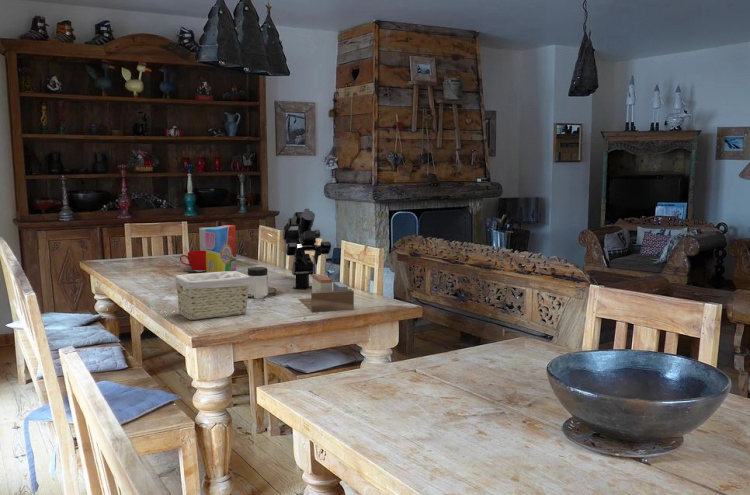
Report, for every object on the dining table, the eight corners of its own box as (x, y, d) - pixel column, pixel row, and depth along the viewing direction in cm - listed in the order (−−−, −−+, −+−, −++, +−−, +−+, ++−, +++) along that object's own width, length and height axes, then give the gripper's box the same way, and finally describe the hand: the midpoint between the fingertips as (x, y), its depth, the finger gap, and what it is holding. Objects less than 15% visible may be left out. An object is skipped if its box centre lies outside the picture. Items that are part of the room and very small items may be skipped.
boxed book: (312, 298, 270) (312, 274, 269) (323, 298, 271) (323, 273, 270) (320, 305, 257) (320, 280, 255) (332, 304, 258) (332, 279, 257)
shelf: (298, 301, 269) (297, 282, 268) (336, 299, 274) (336, 280, 273) (312, 314, 246) (312, 293, 245) (353, 311, 251) (353, 291, 250)
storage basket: (236, 306, 259) (235, 269, 258) (252, 314, 246) (251, 275, 244) (174, 314, 247) (173, 274, 245) (188, 322, 233) (186, 281, 231)
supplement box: (228, 258, 389) (227, 228, 387) (205, 259, 383) (205, 229, 380) (221, 255, 401) (220, 226, 398) (199, 257, 394) (198, 227, 392)
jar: (243, 297, 277) (242, 268, 275) (255, 294, 284) (255, 266, 282) (260, 299, 272) (259, 270, 271) (272, 296, 280) (272, 268, 278)
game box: (217, 291, 290) (216, 229, 286) (206, 290, 291) (204, 228, 287) (236, 282, 310) (235, 224, 306) (225, 282, 311) (224, 224, 308)
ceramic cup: (179, 270, 345) (179, 251, 343) (213, 269, 350) (212, 250, 348) (180, 274, 332) (179, 254, 331) (215, 272, 337) (214, 253, 336)
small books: (333, 303, 260) (333, 282, 259) (344, 303, 262) (344, 281, 261) (340, 309, 251) (340, 286, 250) (351, 308, 252) (351, 286, 251)
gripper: (286, 223, 278) (292, 253, 269) (330, 222, 284) (337, 251, 275) (283, 240, 287) (288, 269, 278) (325, 239, 293) (332, 267, 284)
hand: (311, 264), depth 278 cm, fingers open, 4 cm apart
